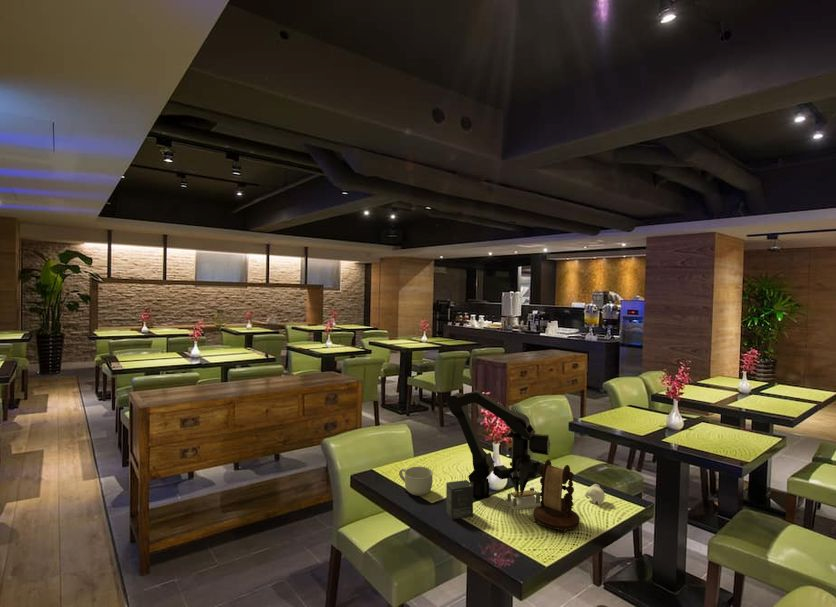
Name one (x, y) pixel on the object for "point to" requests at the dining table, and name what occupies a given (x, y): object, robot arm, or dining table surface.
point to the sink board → (524, 501)
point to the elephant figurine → (595, 494)
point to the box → (459, 499)
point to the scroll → (556, 499)
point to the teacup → (417, 480)
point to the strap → (524, 493)
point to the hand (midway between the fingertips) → (519, 493)
